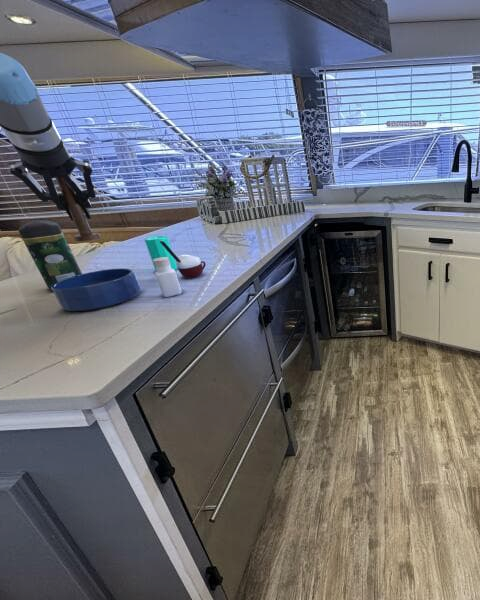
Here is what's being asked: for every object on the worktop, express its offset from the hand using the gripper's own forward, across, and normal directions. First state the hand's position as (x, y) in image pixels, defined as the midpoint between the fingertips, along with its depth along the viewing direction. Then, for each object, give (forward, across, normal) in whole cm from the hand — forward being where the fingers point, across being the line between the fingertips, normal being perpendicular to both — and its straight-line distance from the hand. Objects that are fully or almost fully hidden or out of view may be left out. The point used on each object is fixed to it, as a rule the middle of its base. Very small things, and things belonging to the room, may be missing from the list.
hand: (80, 215), depth 84 cm
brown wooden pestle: (+1, 0, -7) cm, 7 cm away
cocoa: (+8, +19, -20) cm, 29 cm away
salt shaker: (-1, +13, -30) cm, 32 cm away
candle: (+18, +14, -10) cm, 25 cm away
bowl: (+4, -1, -24) cm, 24 cm away
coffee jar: (+21, -10, -8) cm, 24 cm away
